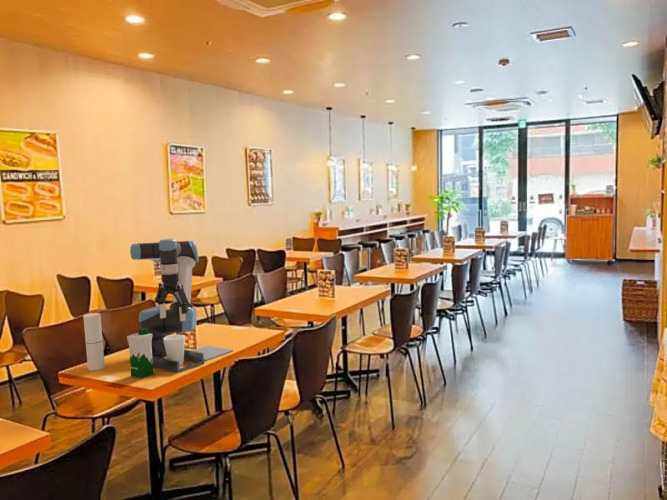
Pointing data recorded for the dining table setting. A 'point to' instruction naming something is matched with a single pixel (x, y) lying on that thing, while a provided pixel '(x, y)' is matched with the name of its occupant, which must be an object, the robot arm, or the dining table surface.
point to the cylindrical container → (94, 341)
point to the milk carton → (141, 353)
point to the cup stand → (174, 365)
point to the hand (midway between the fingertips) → (172, 319)
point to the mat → (212, 352)
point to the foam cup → (175, 347)
